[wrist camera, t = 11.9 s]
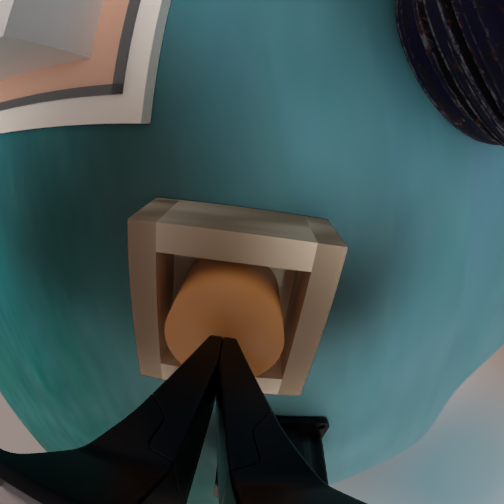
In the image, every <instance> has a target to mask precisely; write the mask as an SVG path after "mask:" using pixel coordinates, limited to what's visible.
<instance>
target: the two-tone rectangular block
mask: <svg viewBox="0 0 504 504" xmlns="http://www.w3.org/2000/svg"><path fill="white" fill-rule="evenodd" d="M103 4H104V0H0V80H3V79H6V78H9V77H12V76H16V75H19V74H22V73H26V72H29V71H33V70H37V69H41V68H45V67H49V66H54V65H58V64H63V63H68V62H73V61H79V60H85V59H91V54H92V49H93V44H94V40H95V35H96V31H97V26H98V22H99V18H100V14H101V11H102V7H103Z"/></svg>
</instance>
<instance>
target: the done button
mask: <svg viewBox="0 0 504 504" xmlns="http://www.w3.org/2000/svg"><path fill="white" fill-rule="evenodd" d="M164 332H165V339H166V342H167V345H168V347H169V349H170V351H171V353H172V354H173V355H174V357H175V358H176V359H177V360H178V361H179V362H180V363H181V364H183V363H184V361H185V360H186V359H187V358H188V357H189V356H190V355H191V354H192V353H193V352H194V351H195V350H196V349H197V348H198V347H199V346H200V345H201V344H202V343H203V342H204V341H205V340H206V339H207V338H208V337H209V336H210V335H215V336H221V337H222V338H224V337H230V338H235V339H237V341H238V343H239V345H240V348H241V350H242V352H243V354H244V356H245V358H246V360H247V362H248V364H249V366H250V368H251V370H252V372H253V374H254V376H258V375H260V374H262V373H264V372H265V371H267V370H268V369H269V368H271V367H272V366H273V365H274V364H275V363H276V361H277V360H278V359H279V357H280V355H281V353H282V350H283V347H284V328H283V319H282V310H281V301H280V293H279V286H278V282H277V279H276V277H275V275H274V273H273V272H272V271H271V269H270V268H269V267H266V266H258V265H250V264H243V263H235V262H227V261H220V260H212V259H205V258H200V259H199V260H197V261H196V262H195V263H194V264H193V265H192V266H191V268H190V269H189V271H188V272H187V275H186V277H185V279H184V281H183V283H182V285H181V287H180V290H179V292H178V294H177V296H176V298H175V301H174V303H173V305H172V307H171V310H170V312H169V314H168V316H167V319H166V322H165V331H164Z"/></svg>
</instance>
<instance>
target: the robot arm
mask: <svg viewBox="0 0 504 504" xmlns="http://www.w3.org/2000/svg"><path fill="white" fill-rule="evenodd" d="M215 398H216V440H217V471H216V480H215V489H214V495H215V496H216V497H218V498H219V504H367V503H365V502H362V501H360V500H357V499H355V498H353V497H351V496H349V495H346V494H344V493H342V492H340V491H338V490H336V489H333V488H332V487H330V486H329V485H328V479H327V472H326V465H325V458H324V451H323V444H322V438H323V436H324V434H325V433H326V431H327V429H328V428H329V422H328V420H327V419H312V418H278V417H275V415H274V413H273V411H272V409H271V407H270V405H269V404H268V402H267V400H266V398H265V396H264V394H263V392H262V390H261V388H260V386H259V384H258V382H257V380H256V378H255V376H254V374H253V372H252V370H251V368H250V366H249V364H248V362H247V360H246V358H245V356H244V354H243V352H242V350H241V348H240V345H239V343H238V341H237V339H235V338H230V337H224V338H222V337H221V336H215V335H210V336H209V337H208V338H207V339H206V340H205V341H204V342H203V343H202V344H201V345H200V346H199V347H198V348H197V349H196V350H195V351H194V352H193V353H192V354H191V355H190V356H189V357H188V358H187V359H186V360H185V361H184V363H183V364H182V365H181V366H180V367H179V368H178V369H177V370H176V371H175V372H174V373H173V374H172V375H171V376H170V377H169V378H168V379H167V380H166V381H165V382H164V383H163V384H162V385H161V386H160V387H159V388H158V389H157V390H156V391H155V392H154V393H153V395H151V396H150V397H149V398H148V399H147V400H146V401H145V402H144V403H142V404H141V405H140V406H139V407H138V408H137V409H136V410H135V411H134V412H132V413H131V414H130V415H128V416H127V417H126V418H125V419H123V420H122V421H121V422H119V423H118V424H117V425H115V426H114V427H112V428H111V429H110V430H108V431H107V432H105V433H104V434H103V435H101V436H100V437H98V438H97V439H95V440H94V441H92V442H91V443H89V444H87V445H85V446H83V447H80V448H77V449H73V450H65V451H56V452H45V453H32V454H16V453H10V452H7V451H4V450H2V449H0V504H186V503H187V499H188V496H189V492H190V489H191V485H192V482H193V478H194V474H195V471H196V467H197V464H198V460H199V457H200V453H201V450H202V446H203V443H204V439H205V436H206V432H207V428H208V425H209V421H210V418H211V414H212V411H213V407H214V403H215Z"/></svg>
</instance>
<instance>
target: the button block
mask: <svg viewBox="0 0 504 504" xmlns="http://www.w3.org/2000/svg"><path fill="white" fill-rule="evenodd" d="M127 231H128V260H129V278H130V291H131V303H132V313H133V323H134V331H135V339H136V346H137V354H138V360H139V367H140V373H141V375H145V376H150V377H155V378H160V379H165V380H167V379H168V378H169V377H170V376H171V375H172V374H173V373H174V372H175V371H176V370H177V369H178V368H179V367H180V366H181V365H182V364H181V363H180V362H179V361H178V360H177V359H176V358H175V357H174V355H173V354H172V353H171V351H170V349H169V347H168V345H167V342H166V339H165V332H164V331H165V322H166V319H167V316H168V314H169V312H170V310H171V307H172V305H173V303H174V301H175V298H176V296H177V294H178V292H179V290H180V287H181V285H182V283H183V281H184V279H185V277H186V275H187V272H188V271H189V269H190V268H191V266H192V265H193V264H194V263H195V262H196V261H197V260H199V259H200V258H205V259H212V260H220V261H227V262H235V263H243V264H250V265H258V266H266V267H269V268H270V269H271V271H272V272H273V273H274V275H275V277H276V279H277V282H278V286H279V293H280V301H281V310H282V319H283V328H284V347H283V350H282V353H281V355H280V357H279V359H278V360H277V361H276V363H275V364H274V365H273V366H272V367H271V368H269V369H268V370H267V371H265V372H264V373H262V374H260V375H258V376H255V378H256V380H257V382H258V384H259V386H260V388H261V390H262V392H263V393H266V394H280V395H301V392H302V389H303V387H304V384H305V382H306V379H307V376H308V374H309V371H310V368H311V365H312V363H313V360H314V357H315V354H316V351H317V348H318V346H319V343H320V340H321V337H322V334H323V331H324V328H325V325H326V322H327V318H328V315H329V312H330V309H331V306H332V302H333V299H334V296H335V293H336V289H337V286H338V282H339V279H340V275H341V272H342V268H343V264H344V261H345V257H346V253H347V250H348V247H347V245H346V244H345V242H344V241H343V240H342V238H341V237H340V235H339V234H338V233H337V231H336V230H335V228H334V227H333V226H332V224H331V223H330V222H329V220H328V219H322V218H316V217H309V216H302V215H296V214H289V213H282V212H275V211H268V210H261V209H253V208H245V207H238V206H230V205H222V204H213V203H205V202H196V201H187V200H177V199H167V198H155V199H154V200H152V201H151V202H150V203H148V204H147V205H145V206H144V207H143V208H141V209H140V210H139V211H137V212H136V213H135V214H133V215H132V216H131V217H129V218H128V219H127Z"/></svg>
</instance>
